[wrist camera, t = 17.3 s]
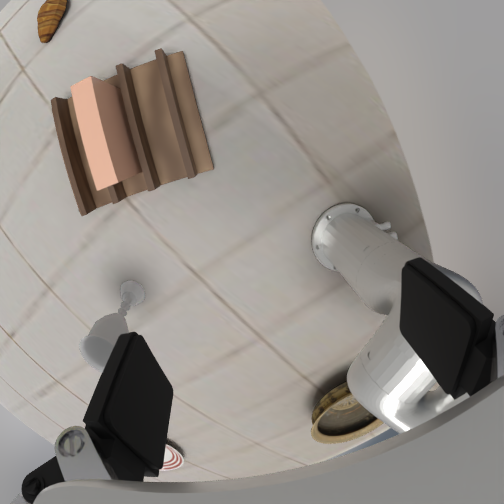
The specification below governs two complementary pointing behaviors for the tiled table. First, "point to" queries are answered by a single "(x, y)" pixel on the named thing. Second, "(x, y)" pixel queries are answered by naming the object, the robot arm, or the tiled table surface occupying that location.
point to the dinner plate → (172, 459)
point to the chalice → (110, 328)
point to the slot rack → (141, 132)
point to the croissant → (50, 18)
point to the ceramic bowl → (341, 417)
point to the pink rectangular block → (105, 132)
